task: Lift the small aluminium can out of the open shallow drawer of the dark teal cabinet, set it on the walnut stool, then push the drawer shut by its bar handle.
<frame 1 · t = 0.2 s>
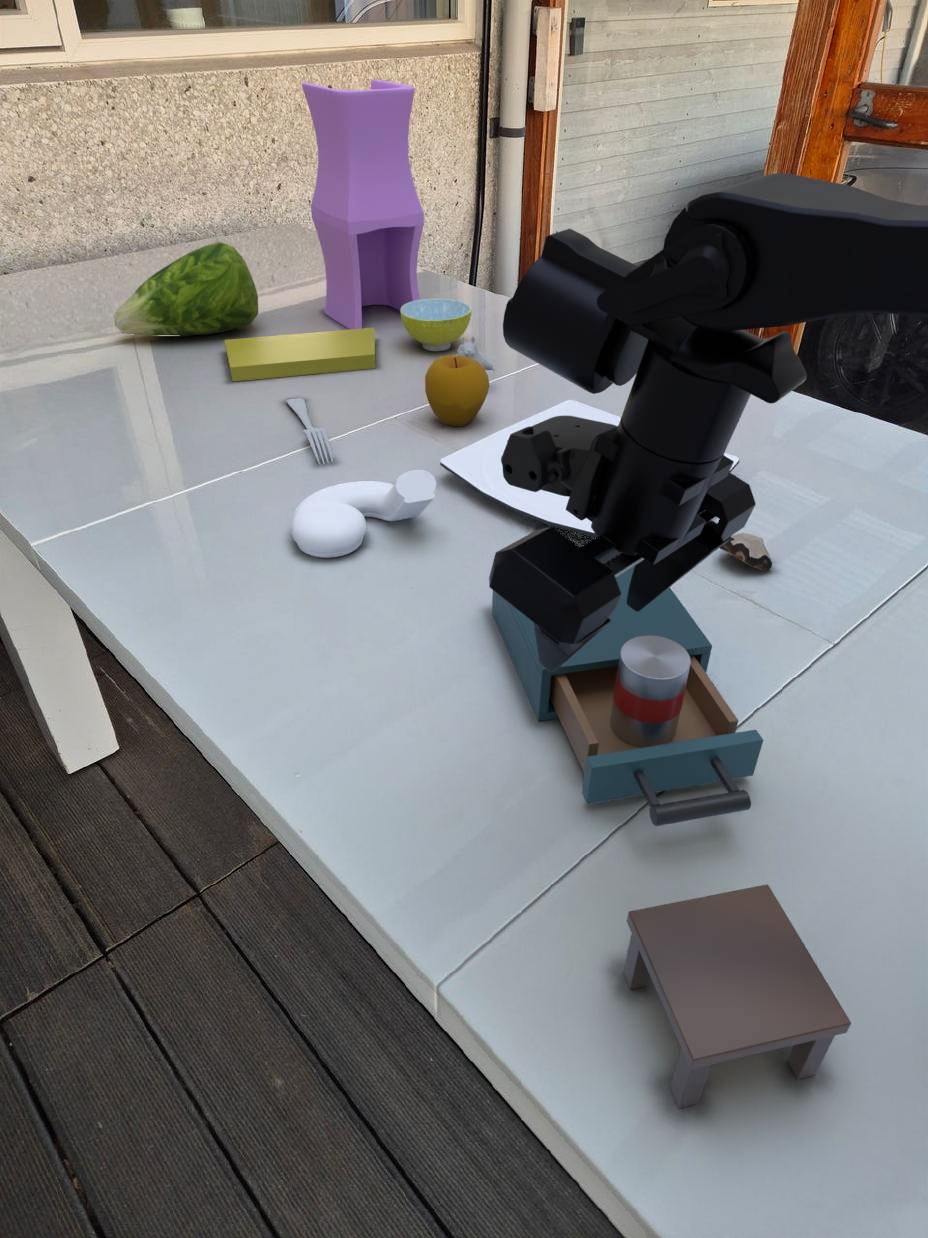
hand: (591, 635, 58), 15 cm above the table, tool pointing down, fingers open, 9 cm apart
can: (643, 725, 70), point 2 cm above the table, touching drawer
apple: (456, 422, 122), on the table
fork: (309, 431, 119), on the table
bowl: (436, 347, 145), on the table
figurine: (467, 389, 131), on the table
cabinet: (590, 652, 81), on the table
stool: (714, 1021, 53), on the table
plate: (588, 480, 108), on the table
drawer: (649, 727, 69), point 3 cm above the table, slide at 9.0 cm, touching can
purple hollow column: (371, 315, 157), on the table
flat olive board: (307, 361, 139), on the table
lettuce: (191, 334, 149), on the table
decorative stone: (726, 565, 93), on the table
sculpture: (357, 531, 98), on the table
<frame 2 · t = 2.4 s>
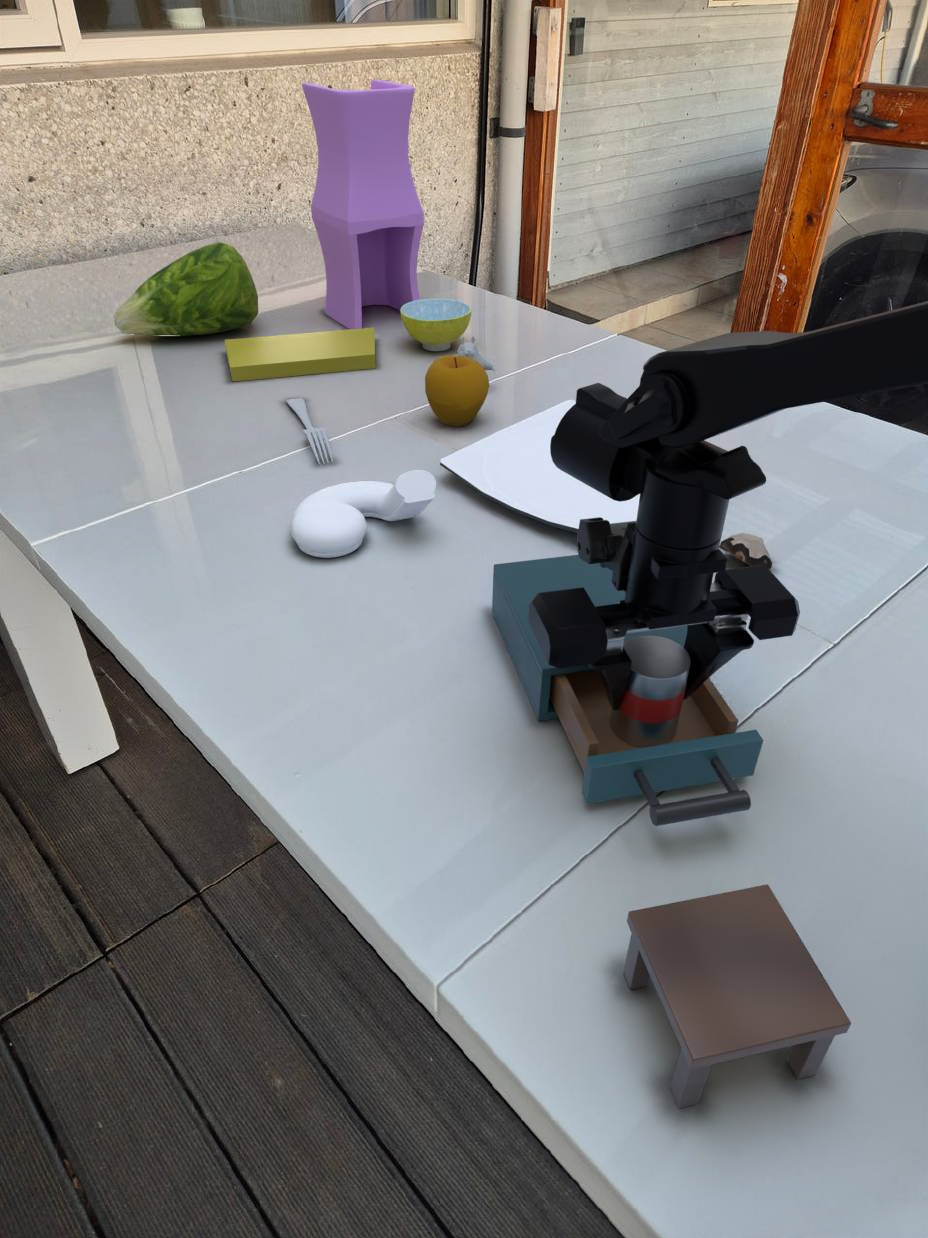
hand: (647, 701, 69), 5 cm above the table, tool pointing down, fingers closed on can, 5 cm apart
can: (643, 725, 70), point 2 cm above the table, touching drawer, gripper
everything else where it was.
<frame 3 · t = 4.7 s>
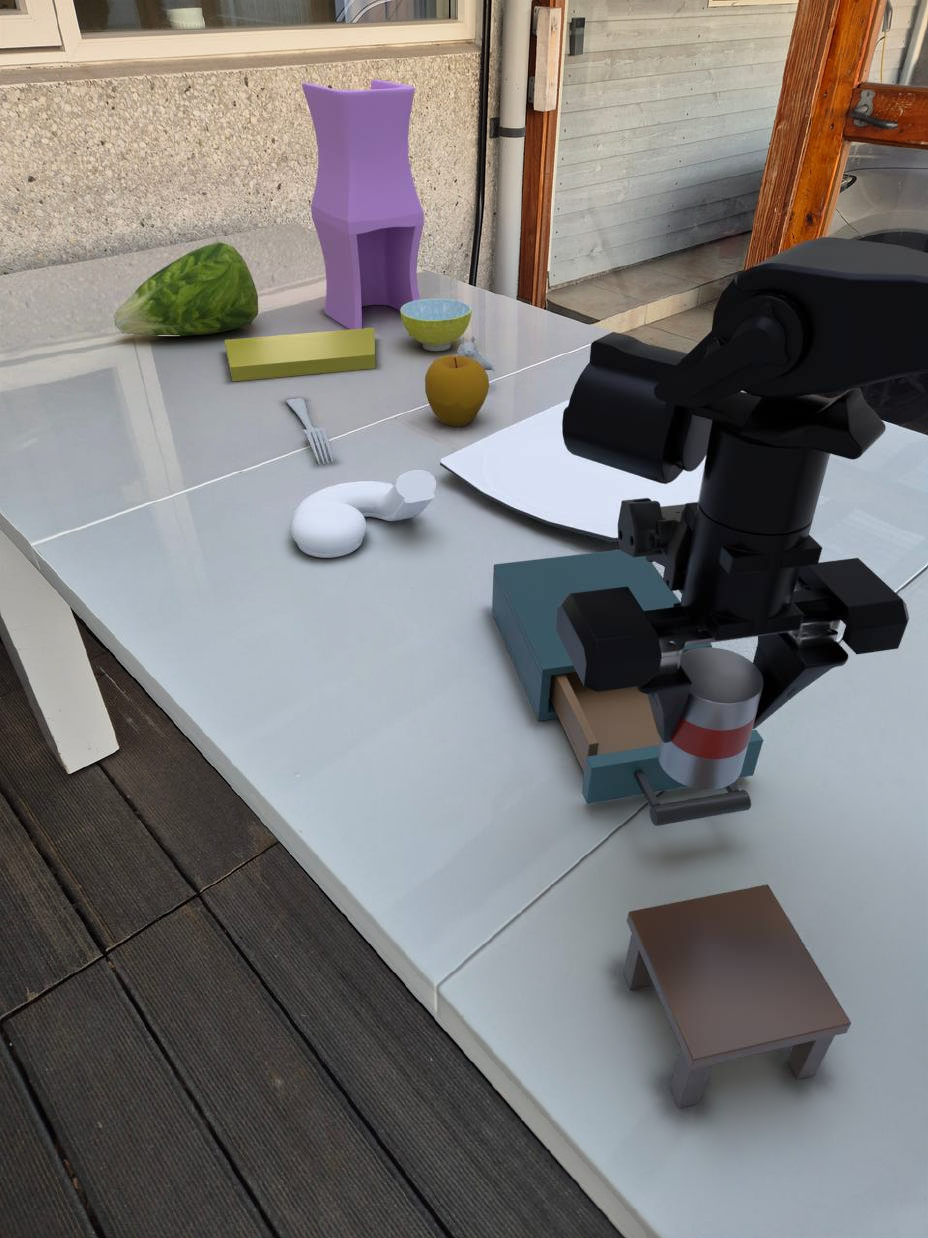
hand: (706, 731, 55), 13 cm above the table, tool pointing down, fingers closed on can, 5 cm apart
can: (699, 759, 56), point 10 cm above the table, touching gripper
drawer: (649, 727, 69), point 3 cm above the table, slide at 9.0 cm
everything else where it was.
when the fingers open (8 cm above the table, at t = 7.1 s): can stays where it is, resting on stool.
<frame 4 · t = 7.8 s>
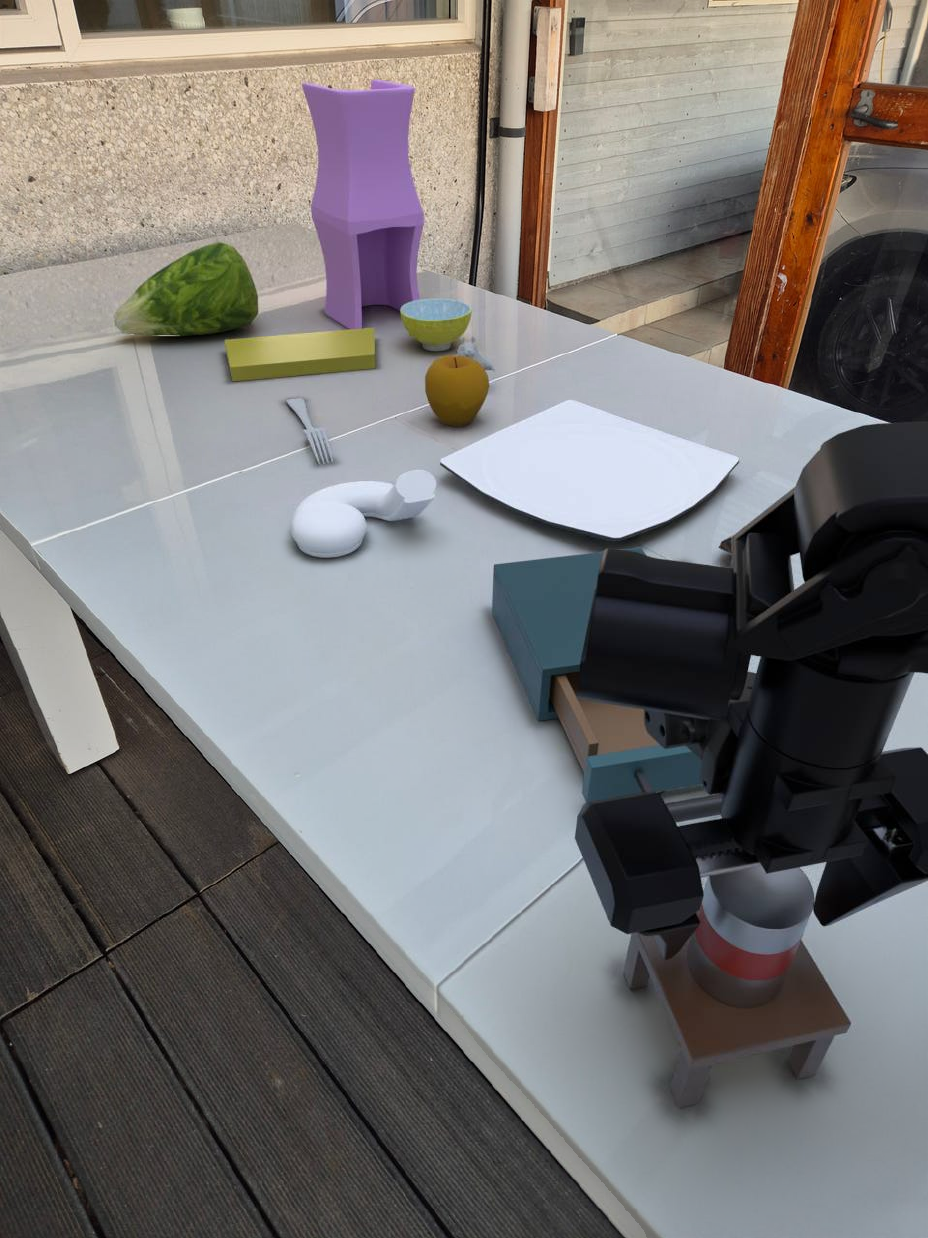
hand: (743, 934, 48), 9 cm above the table, tool pointing down, fingers open, 9 cm apart
can: (734, 964, 49), point 6 cm above the table, touching stool
everything else where it was.
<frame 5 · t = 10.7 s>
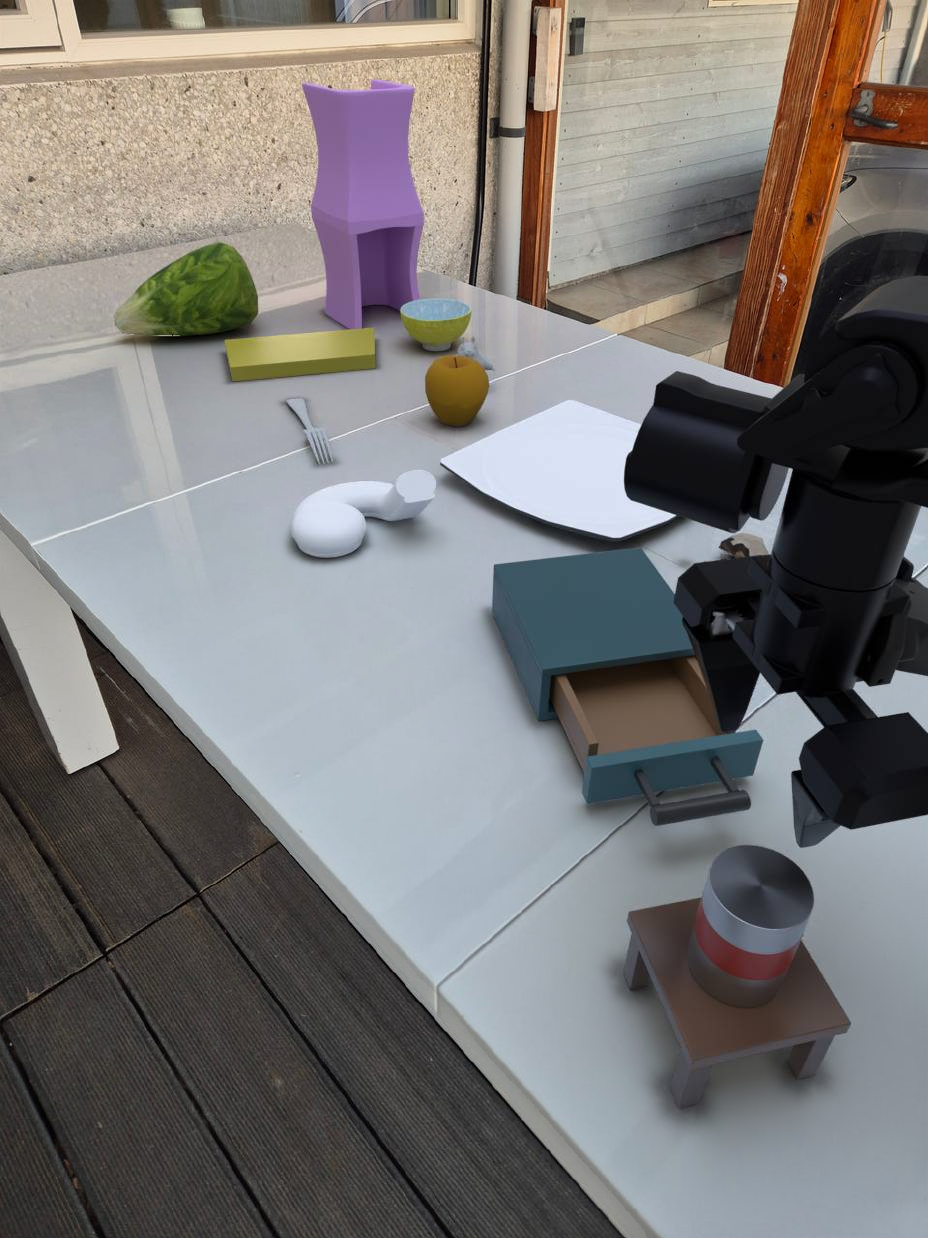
hand: (764, 783, 52), 12 cm above the table, tool pointing down, fingers open, 9 cm apart
nothing on the table moved.
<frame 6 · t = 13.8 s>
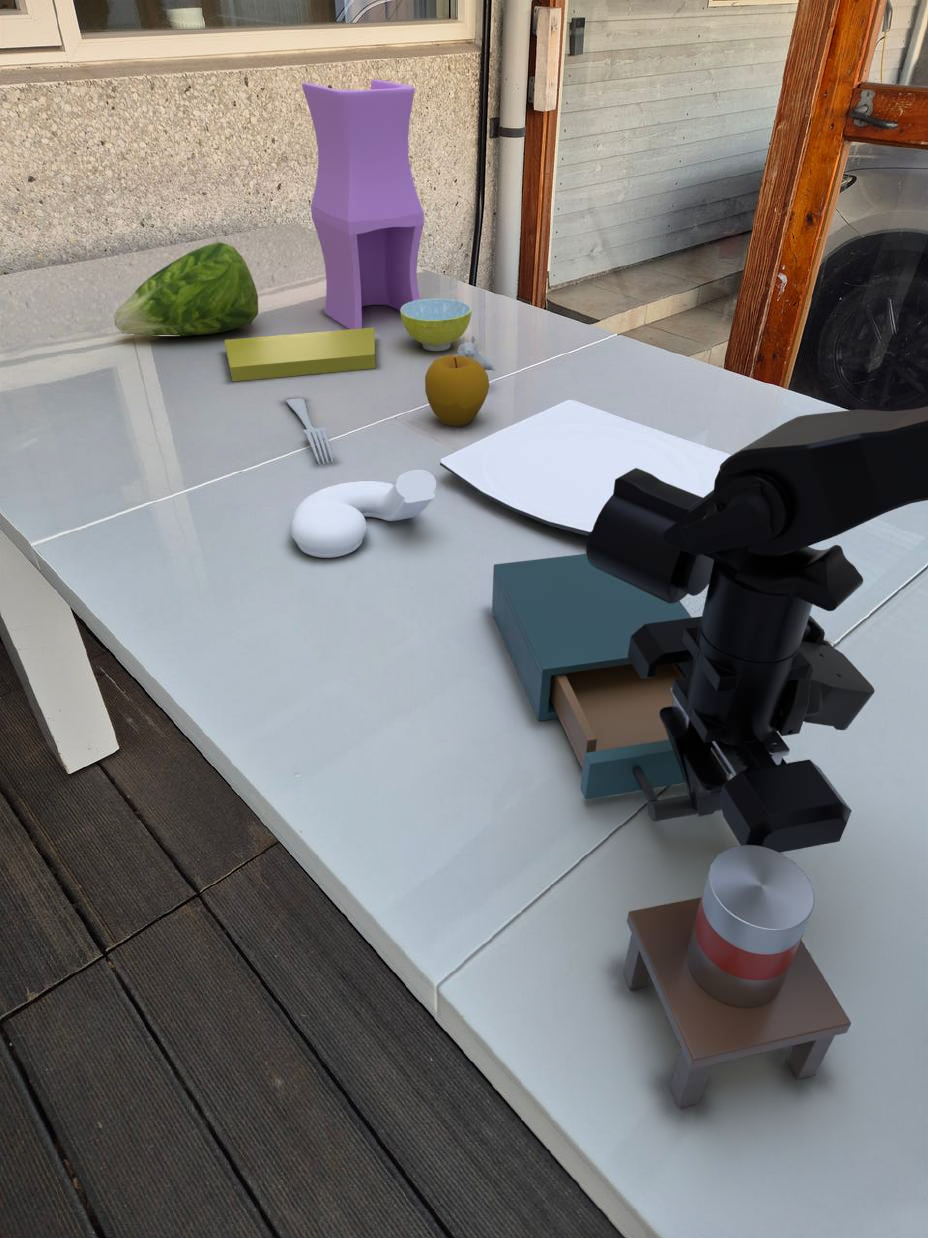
hand: (703, 811, 61), 4 cm above the table, tool pointing down, fingers closed
drawer: (647, 723, 69), point 3 cm above the table, slide at 8.6 cm, touching gripper
everything else where it was.
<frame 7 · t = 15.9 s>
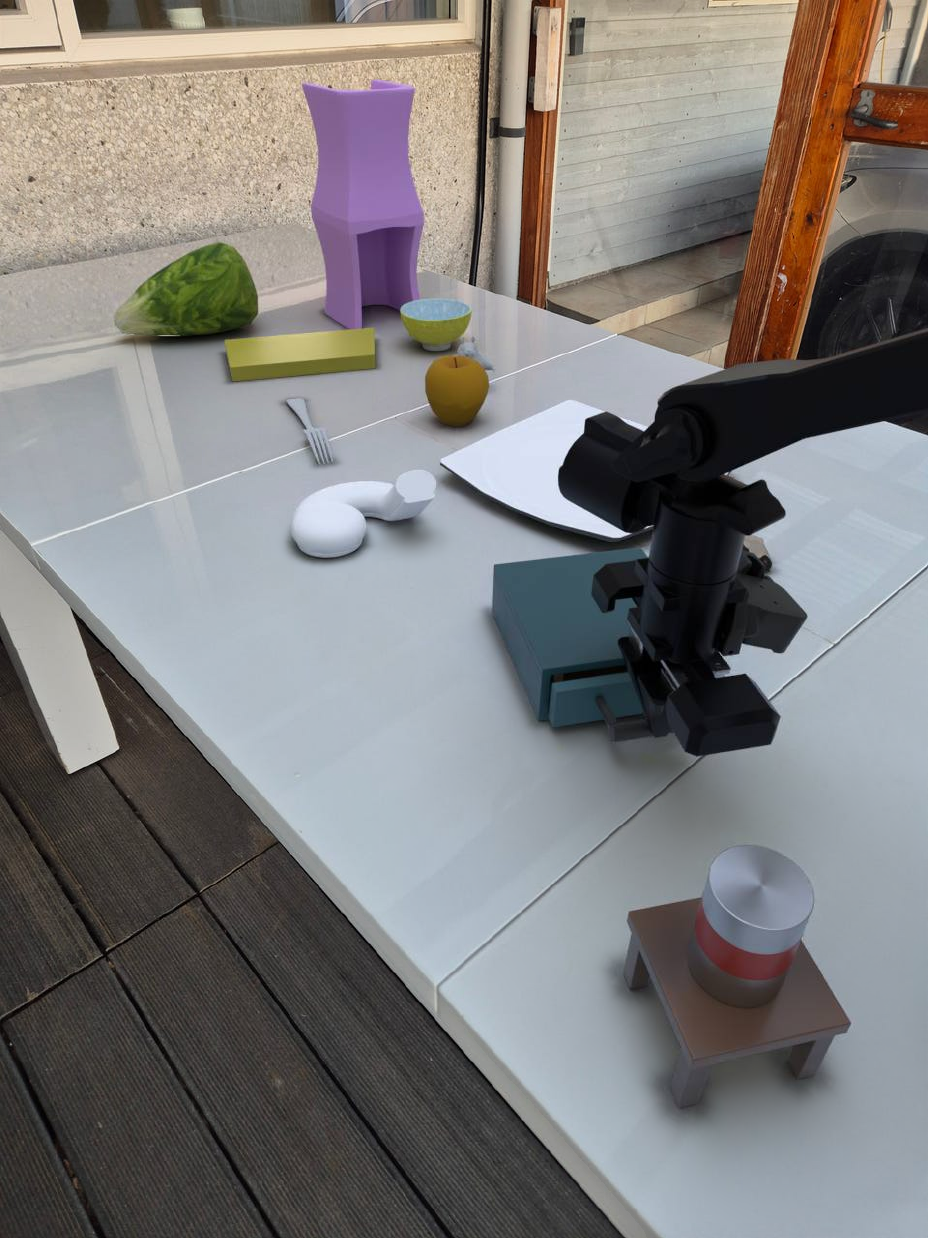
hand: (658, 733, 67), 4 cm above the table, tool pointing down, fingers closed
drawer: (612, 660, 76), point 3 cm above the table, slide at 0.7 cm
everything else where it was.
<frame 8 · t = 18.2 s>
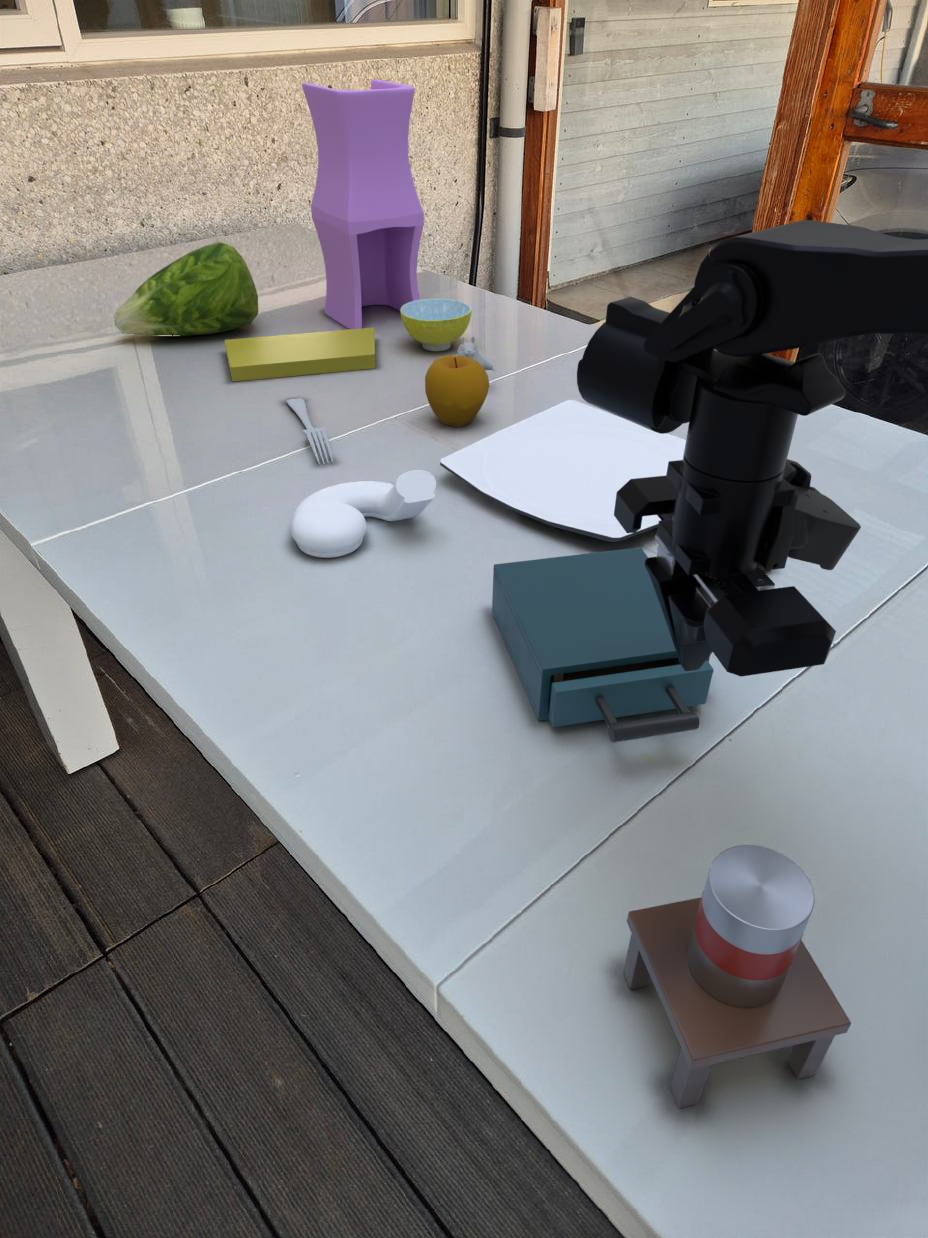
hand: (689, 667, 61), 12 cm above the table, tool pointing down, fingers closed
nothing on the table moved.
at the end: can inside the target area on the stool (0.0 cm from its centre), point 6.0 cm above the stool's base; can tilted 0°; drawer slide at 0.7 cm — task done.
